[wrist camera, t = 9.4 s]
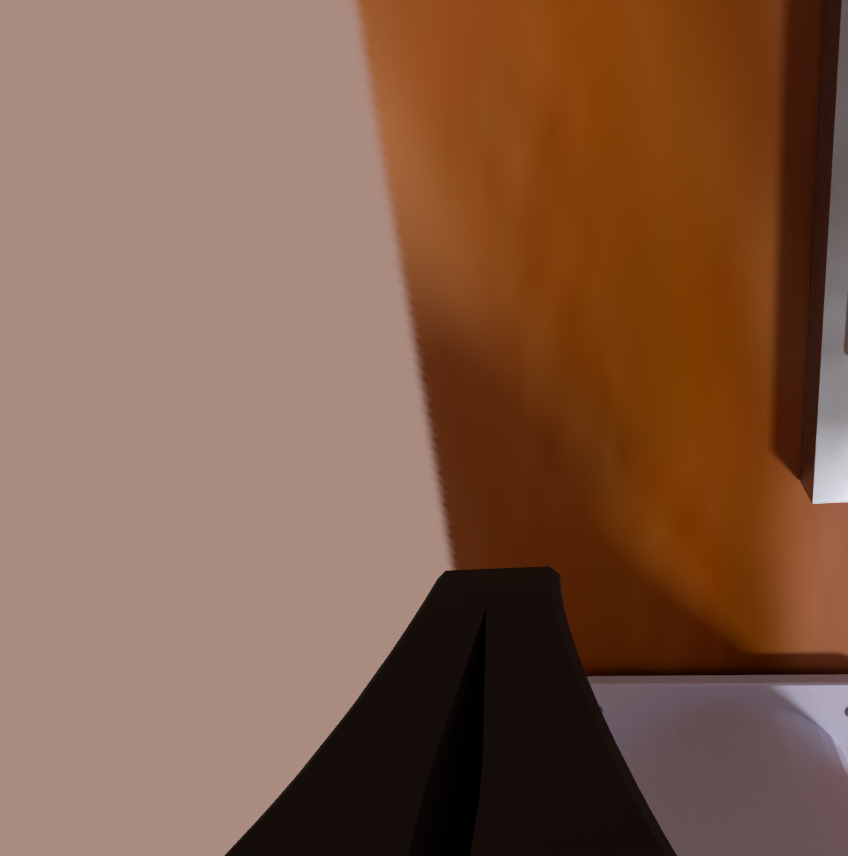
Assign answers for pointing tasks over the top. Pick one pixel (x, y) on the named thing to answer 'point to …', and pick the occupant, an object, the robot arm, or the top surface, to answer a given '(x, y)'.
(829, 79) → the bolt plate
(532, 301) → the top surface
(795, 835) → the robot arm
